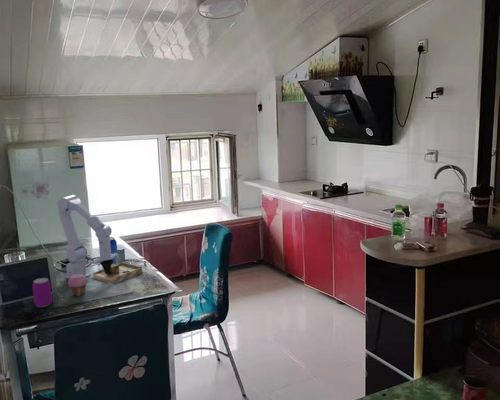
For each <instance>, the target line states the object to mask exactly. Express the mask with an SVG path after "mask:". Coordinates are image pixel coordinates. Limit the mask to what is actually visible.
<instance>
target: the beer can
mask: <svg viewBox="0 0 500 400" xmlns="http://www.w3.org/2000/svg"><path fill="white" fill-rule="evenodd" d="M110 245H111V254H115V253H116V252H117V253H118V243H117V240H116V238H115V237H112V236H110ZM111 260H113V263H112V264H116V258H113V259H111Z"/></svg>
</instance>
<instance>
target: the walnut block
mask: <svg viewBox="0 0 500 400" xmlns="http://www.w3.org/2000/svg"><path fill="white" fill-rule="evenodd" d="M118 273H119V265H117V264H112V265H111V268H110V273H109V275H112V276H113V275H116V274H118Z"/></svg>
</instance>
